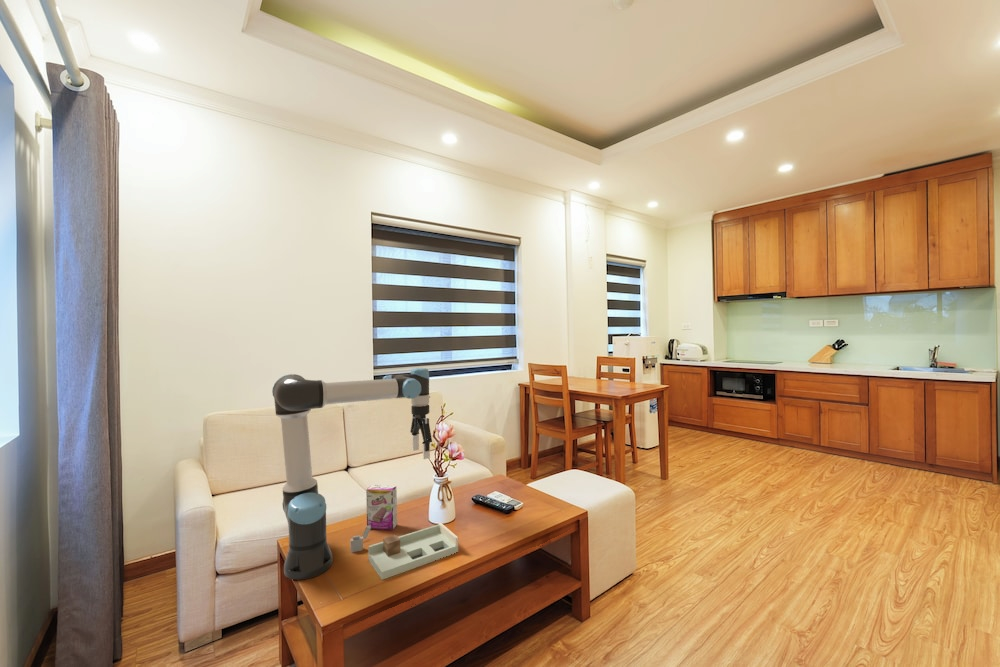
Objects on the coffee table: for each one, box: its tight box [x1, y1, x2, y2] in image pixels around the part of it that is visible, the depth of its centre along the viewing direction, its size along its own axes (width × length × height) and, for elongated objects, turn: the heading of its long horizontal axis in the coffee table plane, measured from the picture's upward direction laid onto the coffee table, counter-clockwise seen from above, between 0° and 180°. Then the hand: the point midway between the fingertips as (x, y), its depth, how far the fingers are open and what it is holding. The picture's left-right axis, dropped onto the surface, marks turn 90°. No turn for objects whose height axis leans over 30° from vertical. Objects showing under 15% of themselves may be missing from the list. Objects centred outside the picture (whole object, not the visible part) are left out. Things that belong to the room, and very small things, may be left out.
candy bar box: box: [365, 484, 398, 531], centre depth 171 cm, size 11×5×16 cm, turn 84°
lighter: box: [349, 525, 372, 554], centre depth 155 cm, size 7×2×8 cm, turn 117°
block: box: [382, 534, 400, 557], centre depth 148 cm, size 4×4×4 cm
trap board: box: [367, 522, 459, 581], centre depth 150 cm, size 28×14×6 cm, turn 124°
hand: (420, 454), depth 180 cm, fingers open, 13 cm apart
